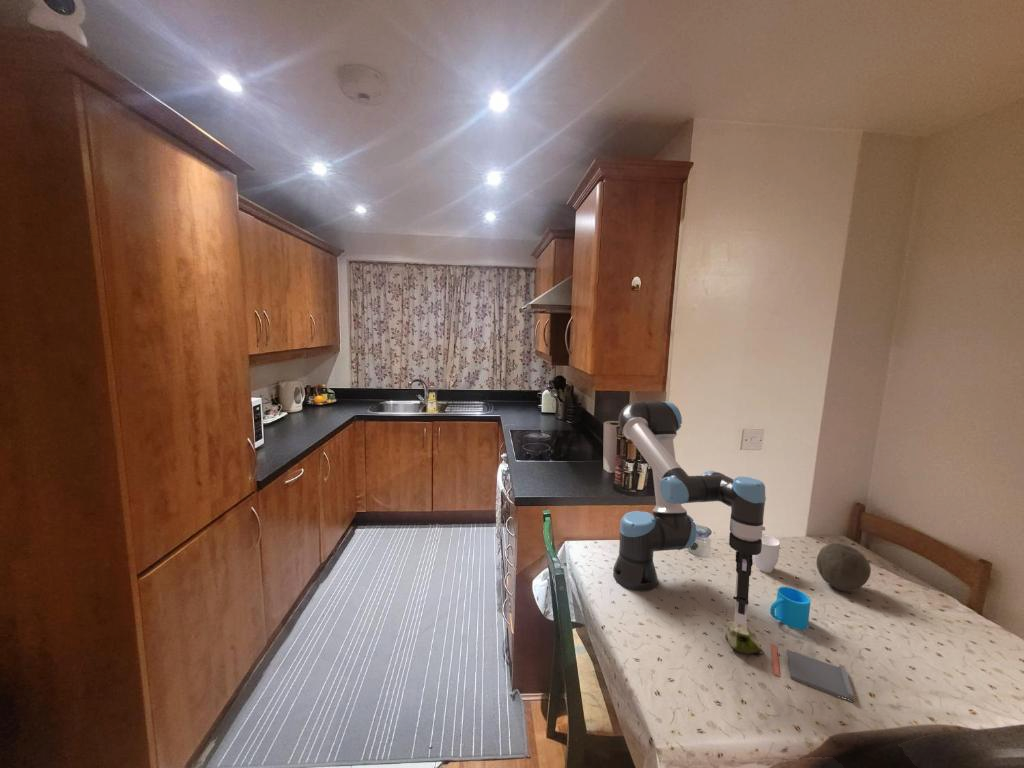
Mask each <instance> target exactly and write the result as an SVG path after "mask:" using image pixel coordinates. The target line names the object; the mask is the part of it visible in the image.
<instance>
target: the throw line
mask: <svg viewBox="0 0 1024 768" xmlns="http://www.w3.org/2000/svg"><path fill="white" fill-rule="evenodd" d="M770 648H771V658H772V669H773V675H774V676H775V677H778V678H780V676H781V675H780V667H779V657H778V649H777V644H776V643H772V642H771V643H770Z"/></svg>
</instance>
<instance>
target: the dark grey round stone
mask: <svg viewBox="0 0 1024 768" xmlns="http://www.w3.org/2000/svg"><path fill="white" fill-rule="evenodd" d="M815 564H816V567H817V571H818V573H819V575H820V576H821V578H822V579H823V581H824V582H826V583H827V584H828V585H830V586H832V588H835V589H836V590H839V591H842V592H852V591H856V590H859V589H860V588H862V587H863V586H864V585H865V584H866V583H867V582H868V580H869V579H870V577H871V573H872V572H871V571H872V570H871V569H872V568H871V565H870V563H869V560H867V557H865V555H864V554H863V553H862V552H861V551H859V550H858V549H857V548H854V547H852V546H849V545H845V544H843V543H828V544H826V545H825V546H822V548H821V549H820V551H819V552H818V554H817V557H816V563H815Z"/></svg>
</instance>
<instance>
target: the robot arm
mask: <svg viewBox="0 0 1024 768" xmlns="http://www.w3.org/2000/svg"><path fill="white" fill-rule="evenodd" d="M682 419H683V418H682V414H681V411H680V410H679V408H678V406H676V404H675V403H674V402H671V401H662V400H661V401H660V400H659V401H658V400H657V401H633V402H629V403H628V404H627V405H625V406H624V407H623V408H622V409H621V411H620V413H619V416H618V426H619V429H620V431H621V432H622V434H623V435H624V437H625V438H627V439H628V440H630V441H631V442H632V443H633V445H634V446H635V447H636V449H637V450H638V452H639V453H640V454H641V455H642V457H643V458H644V460H645V461H646V463H647V464H648V465H649V467H650V469H652V478H653V488H654V494H655V495H654V496H655V503H656V504H655V507H654V508H653V509H652V514H651V513H650V512H649V511H648V512H647V511H641V510H633V511H628V512H626V513H625V514H624V515H623V516H622V517H621V519H620V526H619V550H618V556H617V558H616V560H615V563H614V565H613V568H612V570H613V573H612V575H613V578H614V580H615V581H616V582H617V583H618V584H619V585H621V586H622V587H624V588H627V589H629V590H634V591H639V592H644V591H645V592H647V591H652V590H653V589H655V588H656V586H657V585H658V575H657V571H656V567H655V563H654V552H662V551H675V550H678V551H681V550H684V549H690V548H691V547H692V546H693V545H694V544H695V542H696V539H697V535H698V534H697V527H696V523H695V521H694V519H693V517H691V515H689V514H688V511H687V509H686V508H684V507H683V506H682V504H691V503H707V502H708V503H709V502H712V503H713V502H721V503H722V504H724V505H726V506H728V507H730V509H731V511H730V517H729V518H730V521H729V531H730V532H729V539H728V545H729V547H730V548H731V549H732V550H734V551H735V563H736V567H735V572H736V578H735V579H736V580H735V593H734V594H735V595H736V596H734V595H733V598H732V600H735V607H734V619H733V621H734V622H736V623H739V624H742V625H745V626H746V625H748V624H747V621H748V608H749V603H750V602H749V589H750V588H749V587H750V577H751V576H752V567H753V563H754V561H753V558H752V555H758V554H760V553H761V546H762V540H761V538H762V534H763V532H764V531H766V527H765V526H764V514H765V504H766V499H767V497H766V485H765V483H764V482H763V481H761V480H759V479H757V478H753V477H748V476H737V477H735V478H732V477H729V476H727V475H725V474H724V473H721V472H717V471H715V470H707V471H706V472H704V473H702V474H701V475H688V474H687V472H686V471H685V470H684V469H683V468H682V467H681V465H680V464H679V463H678V462H677V460H676V453H675V452H676V451H675V446H674V439H675V438H676V437H677V431H679V430H680V429H681V427H682V426H681V425H682V423H683V420H682Z"/></svg>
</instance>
